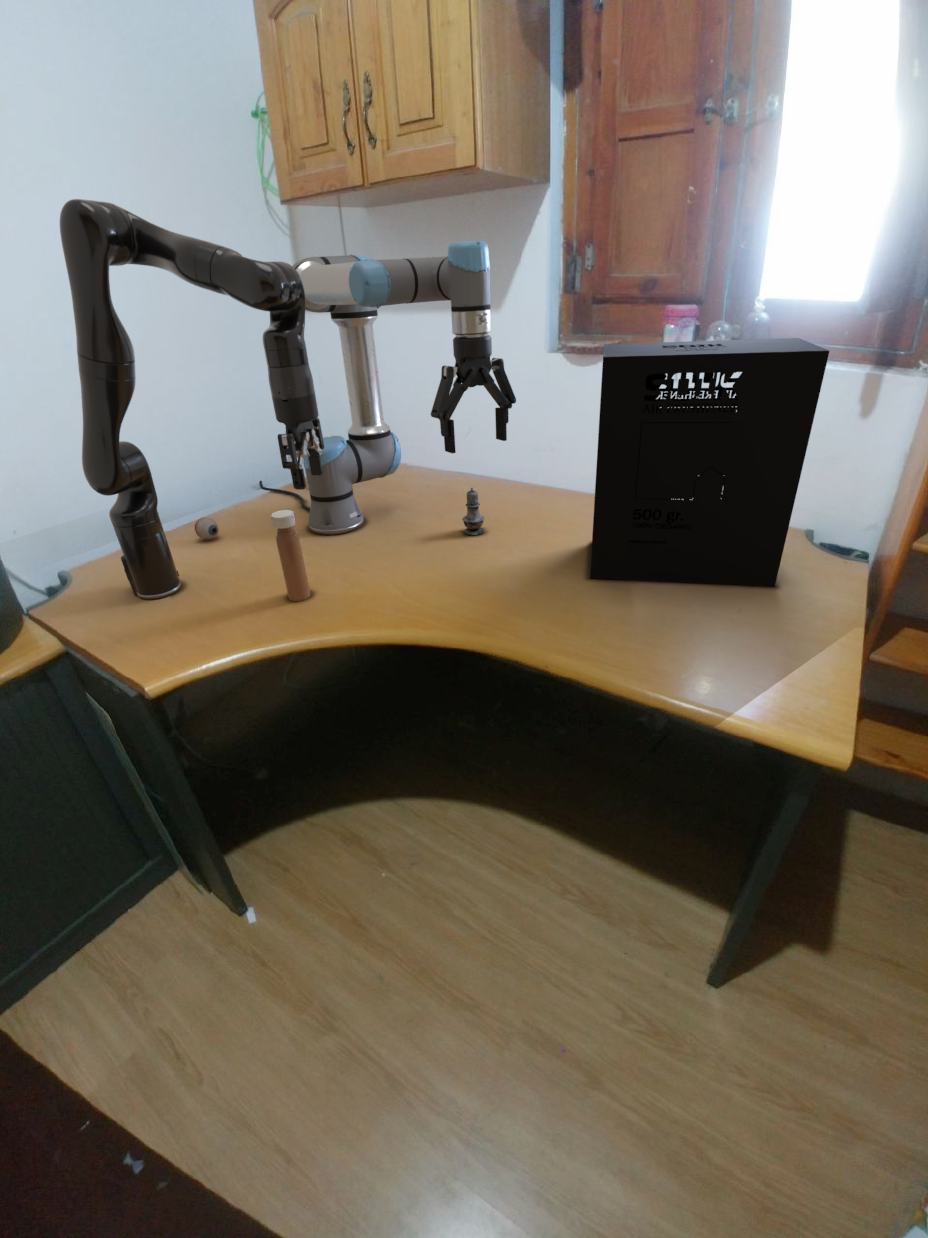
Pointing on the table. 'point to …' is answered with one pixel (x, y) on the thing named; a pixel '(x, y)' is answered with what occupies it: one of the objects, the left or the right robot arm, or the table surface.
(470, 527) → the salt shaker
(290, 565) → the bottle
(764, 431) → the cardboard box
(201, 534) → the eyeball
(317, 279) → the right robot arm
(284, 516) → the cap
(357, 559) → the table surface
